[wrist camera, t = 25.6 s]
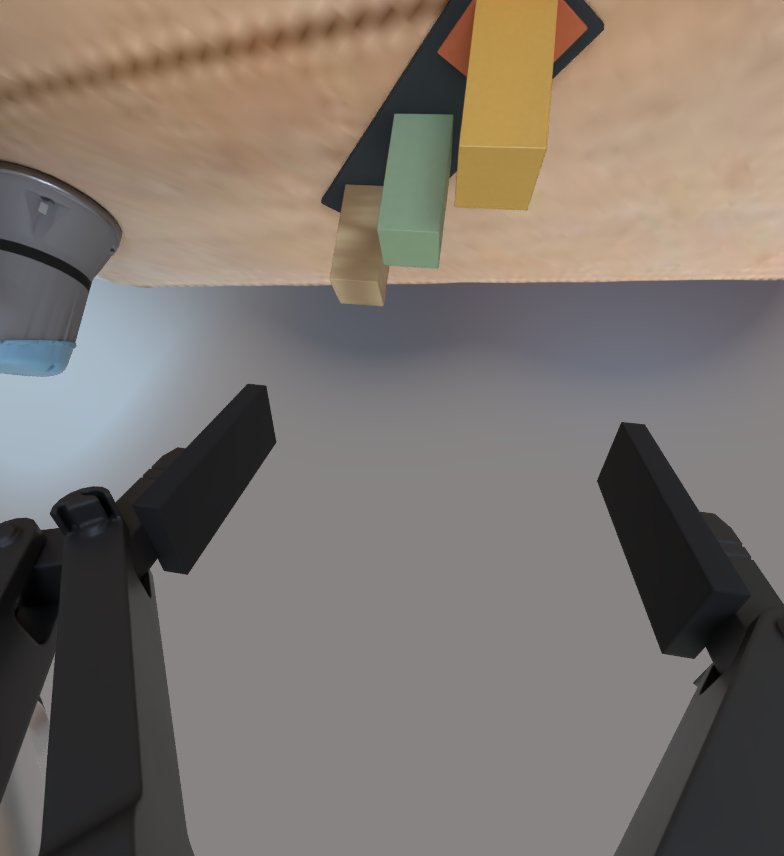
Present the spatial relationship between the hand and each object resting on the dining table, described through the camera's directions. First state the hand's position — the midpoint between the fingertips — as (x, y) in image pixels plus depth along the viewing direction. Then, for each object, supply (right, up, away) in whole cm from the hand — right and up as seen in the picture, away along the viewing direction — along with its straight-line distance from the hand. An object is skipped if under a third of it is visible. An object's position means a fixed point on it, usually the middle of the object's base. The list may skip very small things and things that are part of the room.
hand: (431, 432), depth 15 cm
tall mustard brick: (+7, +27, +12) cm, 30 cm away
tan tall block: (-4, +25, +29) cm, 39 cm away
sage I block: (+1, +26, +21) cm, 33 cm away
